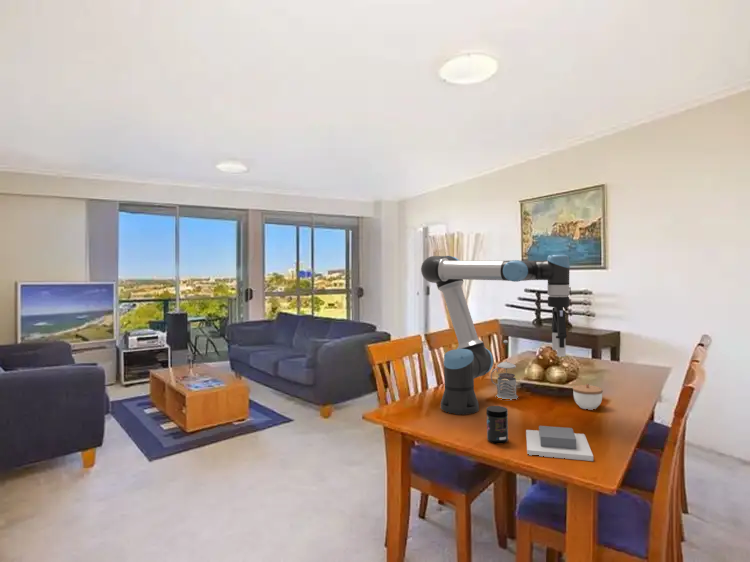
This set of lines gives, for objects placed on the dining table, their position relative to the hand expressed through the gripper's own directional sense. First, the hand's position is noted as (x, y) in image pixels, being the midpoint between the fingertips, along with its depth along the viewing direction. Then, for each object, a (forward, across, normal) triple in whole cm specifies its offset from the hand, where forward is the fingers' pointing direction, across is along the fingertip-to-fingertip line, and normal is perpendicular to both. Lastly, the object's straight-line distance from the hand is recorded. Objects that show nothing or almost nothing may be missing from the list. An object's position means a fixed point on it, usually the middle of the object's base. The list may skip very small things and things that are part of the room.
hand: (558, 352), depth 168 cm
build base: (+24, -30, +5) cm, 39 cm away
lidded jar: (+24, +14, -13) cm, 31 cm away
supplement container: (+24, -28, +22) cm, 44 cm away
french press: (+25, +24, +19) cm, 40 cm away
